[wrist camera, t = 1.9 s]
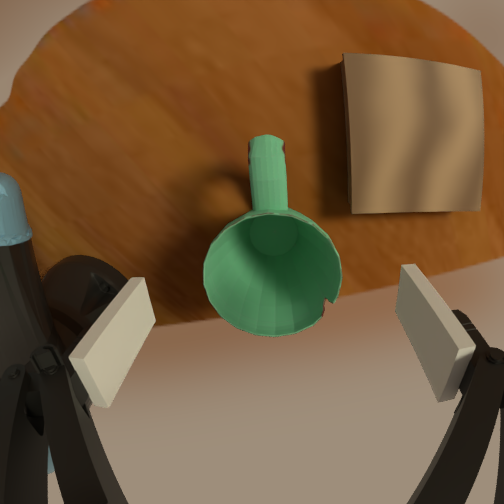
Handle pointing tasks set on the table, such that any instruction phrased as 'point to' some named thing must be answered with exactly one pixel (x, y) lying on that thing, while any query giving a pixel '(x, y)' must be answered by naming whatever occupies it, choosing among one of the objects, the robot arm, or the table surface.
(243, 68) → the table surface
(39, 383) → the robot arm
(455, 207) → the walnut board
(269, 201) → the mug
